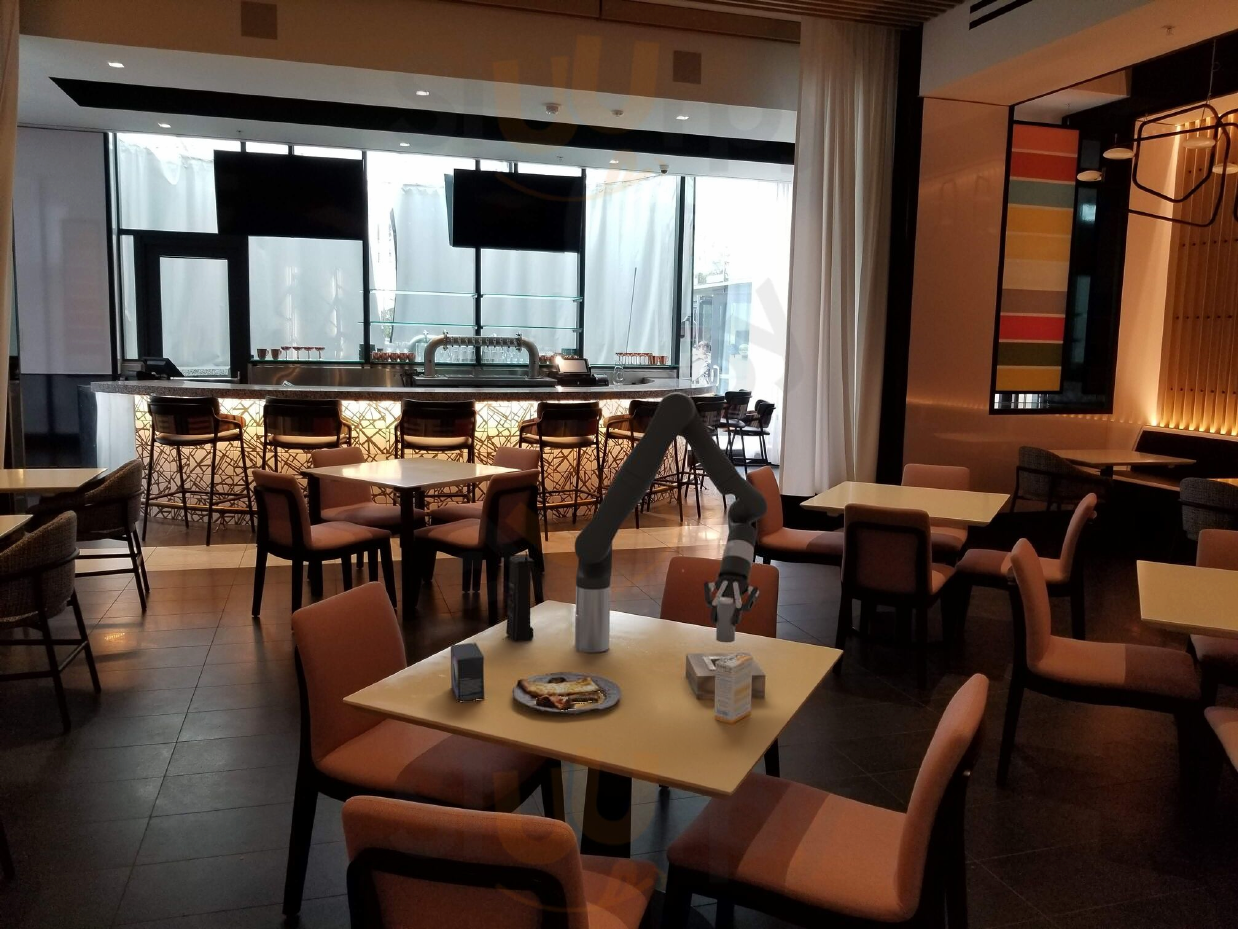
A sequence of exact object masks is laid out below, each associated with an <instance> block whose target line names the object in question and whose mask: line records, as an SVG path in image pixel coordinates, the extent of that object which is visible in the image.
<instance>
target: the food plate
mask: <svg viewBox="0 0 1238 929" xmlns="http://www.w3.org/2000/svg"><path fill="white" fill-rule="evenodd" d="M515 685H516V686H514V687H513V688H512V696H513V699H514V700H515V701H516V702H517V703H520V704H523V705H525V706H526V707H528V708H529V709H530V708H531V709H535V710H536V712H538V711H540V712H544V711H547V712H548V713H556V712H559V713H562V714H569V715H570V714H574V715H577V714H580V713H583V712H589V711H590V710H596V709H598V710H602V709H606V708H609V707H612V706H614V705H615V704H616V703H618V699H619V698H621V696H622V690H621V689H622V688H620V686H619V685H618V684H617V682H615V681H613V680H610V679H608V678H607V677H604V676H601V675H597V674H593V673H581V672H576V671H575V672H574V671H560V672H552V673H550V674H549V673H546V674H540V675H535V676H532V677H528V678H520V679H518V680H517V683H516V684H515ZM598 691H600V693H601V694H603V696H604V697H605V698H604V701H603V700H602V701H603V702H602V701H601V702H602V703H601V702H600V703H599V704H595V705H592V706H590V707H587V708H588V709H586V707H583V708H584V709H579V708H577V709H576V710H568V709H575V708H574V707H575V705H576V704H580V703H573V702H588V701H592V702H591V703H594V702H593V701H598V700H599V699H600V700H601V694H600V693H599V692H598ZM560 696H561V697H568V699H566V700H565V699H563V698H561V697H560ZM536 698H537V699H536ZM600 700H599V701H600ZM533 701H536V704H535V703H534V702H533ZM581 704H582V703H581ZM583 704H585V703H583ZM561 710H564V711H561ZM566 710H567V711H566Z"/></svg>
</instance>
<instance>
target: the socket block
mask: <svg viewBox="0 0 1238 929" xmlns="http://www.w3.org/2000/svg"><path fill="white" fill-rule="evenodd" d="M734 653H735V652H707V653H705V652H703V653H702V652H700V653H698V652H697V653H693V652H691V653H685V676H686V679H687V680H688V683H689V685H690V687H691V690H692V692H693V693H694V696H695V698H696V700H715V666H716V662H717V661H719V660H721V659H723V658H725V657H727V656H730V655H732V654H734ZM737 653H738V654H742V655H746V656H750V657H752V688H751V699H765V698H766V674H765V672H764V671H763V669H762V668H761V667H760V665H759V664H758V662H757V661H756V660H755V658H754V656H752V654H751V653H750V652H737Z"/></svg>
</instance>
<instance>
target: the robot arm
mask: <svg viewBox="0 0 1238 929" xmlns="http://www.w3.org/2000/svg"><path fill="white" fill-rule="evenodd" d="M678 435H680V436H681V437H682V438H683V439H684V440H685V441H686V443H687V444H688V446H689V447H690V448H691V450H692V452H693V454H694V455H695V457H696V459H697V461H698V463H699V464H700V466H701V468H702V469H703V472H705V474H706V476H707V477H708V478H709V480H710V482H711V483H712V485H713V486H714V487H715V489H716V490H717V491H718V492H719V493H720V494H721V495H722V496H727V495H733V496H735V498H737V499H736V500H734V501H733V502H732V503H731V505H729V509H728V510H727V524H728V535H727V538H726V539H727V540H726V543H725V547H724V550H723V553H722V556H721V562H720V566H719V570H718V571H719V572H718V575H717V578H716V580H715V581H714V582H708V581H704V582H703V591H704V600H705V604H706V607H707V608H711V610H710V614H709V618H710V621H711V622H712V624H714V625H717V602H718V601H720V598H721V597H730V598H733V601H734V602H735V603H736V609H735V610H734V615H733V620H732V623H733V626H735V627H737V625H739V624H740V622H741V618H742V614H743V612H748V613H749V612H750V611H751V609H752V608H753V606H754V604H755V603H756V601H757V599H758V597H759V595H760V591H759V587H758V586H754V587H753V586H751V585H750V584H749V582H750V576H751V572H752V571H751V570H752V566H753V563H754V562H753V560H754V552H755V546H756V540H757V531H756V529H755V527H754V526H753V525H751V524H752V523H754V522H756V521H757V520H759V519H761V518H762V517H764V516H765V515H766V514H767V512H768V502H767V500H766V498H765V497H764V495H763V494H762V492H760V491H759V490H758V489H757V488H756V487H755V486H753V485H752V484H751V483H750V482H749V481H748V480H746V479H745V478H743V477H742V475H741V474H740V472H739V471H738V470H737V468H736V467H735V465H734V464H733V463H732V462H731V460H730V459H729V457H728V456H727V455H726V453H725V452H724V451H723V449H722V447H720V445H719V444H718V443H717V441H716V440H715V439H714V438H713V436H712V435H711V433H710V431H709V430H708V428H707V427H706V425H705V423H704V421H703V420H702V418H701V416H700V414H699V412H698V410H697V407H696V405H695V402H694V400H693V399H692V397H691V396H689V395H688V394H686V393H684V392H679V391H678V392H671V393H668V394H667V395H665V396H663V398H662V399H661V400H660V402H659V404H658V405H657V407H656V410H655V412H654V415H653V416H652V419H651V421H650V423H649V424H648V426H647V428H646V430H645V432H644V433H643V435H642V437H641V438H640V439H639V441H638V442H637V443H636V444H635V446H634V447H633V448H632V450H631V451H630V453H628V455H627V456H626V458H625V460H624V461H623V462H622V464H621V466H620V467H619V469H618V471H617V472H616V474H615V475H614V477H613V479H612V481H611V483H610V485H609V487H608V488H607V491H606V492H605V494H604V497H603V499H602V501H601V503H600V506H598V509H597V511H596V512H595V513H594V515H593V516H592V518H591V519H590V520H589V522H588V523H587V524H586V525H585V526H584V528H583V529H582V530H581V531H580V532H579V534H578V535H577V536H576V537H575V541H574V551H575V555H576V557H577V558H578V559H577V560H578V561H577V570H576V575H575V612H574V618H575V619H574V622H575V623H574V648H575V651H576V652H583V653H592V654H593V653H601V652H605V651H608V650H609V648H610V631H611V630H610V629H611V628H610V622H611V621H610V618H611V617H610V616H611V612H610V611H611V578H612V569H613V540H614V538H615V536H616V535H617V533H618V531H619V529H620V528H621V526H622V525H623V523H624V522H625V521H626V520H627V518H628V517H629V516H630V514H631V513H632V512H633V511H634V510H635V509H636V507H637V506H638V504H639V503H640V502H641V500H642V499H643V498H644V496H645V495H646V493H647V492H648V490H649V488H651V486H652V484H653V482H654V480H655V478H656V477H657V474H658V473H659V471H660V469H661V466H662V464H663V461H664V460H665V456H666V454H667V452H668V450H669V448H670V447H671V445H672V444H673V443H674V441H675V440H676V439H677V437H678ZM714 589H716V591H717V592H716V594H715V597H714V599H713V600H712V593H713V591H714ZM747 592H748V596H747V599H746V600H745V602H744V603H742V597H743V596H744V595H746V593H747Z"/></svg>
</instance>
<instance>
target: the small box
mask: <svg viewBox="0 0 1238 929" xmlns="http://www.w3.org/2000/svg"><path fill="white" fill-rule="evenodd" d="M484 660H485V656H484V655H483V653H482V651H481V649H480V647H479V646H478V644H477V642H469V643H461V644H451V645H450V676H451V678H450V679H451V680H450V681H451V689H452V691H453V694H454V696H455V698H456V700H457V703H458V702H460V701H470V702H475V701H474V700H476V699H484V700H485V676H484V675H485V674H484V671H485V670H484V669H485V668H484V665H485V664H484V662H485V661H484Z"/></svg>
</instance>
